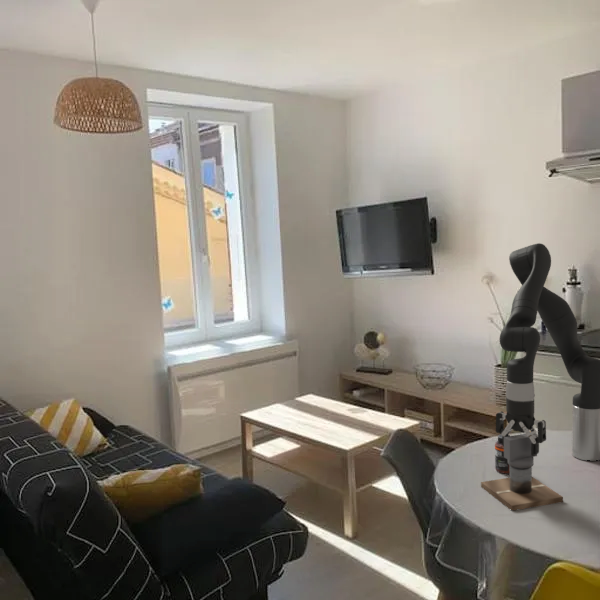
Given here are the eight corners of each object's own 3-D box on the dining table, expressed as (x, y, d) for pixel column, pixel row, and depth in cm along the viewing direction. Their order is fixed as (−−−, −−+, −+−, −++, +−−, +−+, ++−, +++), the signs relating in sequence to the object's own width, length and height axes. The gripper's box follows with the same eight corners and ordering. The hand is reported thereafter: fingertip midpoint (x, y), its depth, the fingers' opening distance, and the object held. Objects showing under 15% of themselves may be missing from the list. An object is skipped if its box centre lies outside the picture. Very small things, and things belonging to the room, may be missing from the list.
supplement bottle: (515, 467, 192) (514, 433, 191) (515, 475, 186) (514, 440, 185) (495, 466, 194) (495, 432, 193) (495, 473, 188) (494, 438, 187)
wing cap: (514, 470, 168) (514, 441, 167) (499, 461, 175) (499, 433, 174) (541, 465, 170) (541, 436, 169) (526, 456, 177) (526, 428, 176)
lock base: (528, 479, 183) (528, 450, 182) (562, 501, 168) (563, 471, 167) (481, 486, 180) (480, 458, 178) (511, 510, 164) (511, 479, 163)
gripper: (490, 395, 173) (490, 449, 175) (538, 404, 162) (538, 462, 164) (503, 389, 178) (503, 442, 180) (551, 397, 167) (550, 454, 169)
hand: (520, 451), depth 172 cm, fingers open, 8 cm apart
